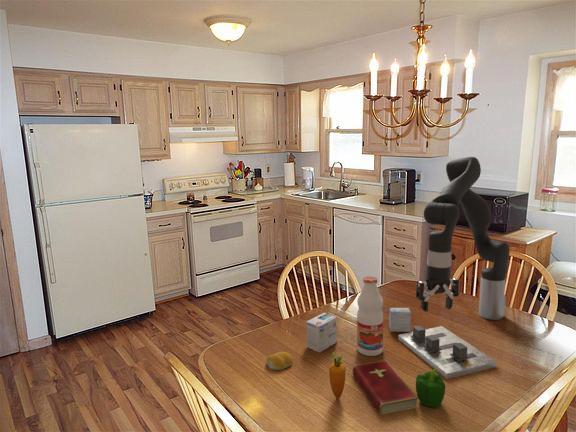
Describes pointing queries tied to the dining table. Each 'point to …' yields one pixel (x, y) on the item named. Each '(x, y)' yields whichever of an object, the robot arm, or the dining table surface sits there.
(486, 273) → the robot arm
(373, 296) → the fruit juice
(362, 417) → the dining table surface
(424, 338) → the lever right
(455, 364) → the switch panel
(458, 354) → the lever
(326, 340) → the light bulb box
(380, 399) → the hardcover book
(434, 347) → the lever middle
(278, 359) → the bread roll
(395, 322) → the medicine box
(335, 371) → the carrot
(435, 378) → the bell pepper
